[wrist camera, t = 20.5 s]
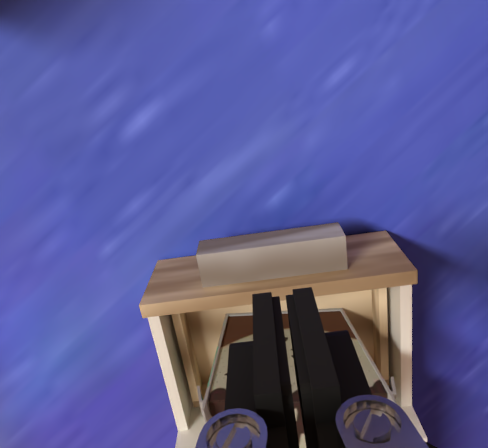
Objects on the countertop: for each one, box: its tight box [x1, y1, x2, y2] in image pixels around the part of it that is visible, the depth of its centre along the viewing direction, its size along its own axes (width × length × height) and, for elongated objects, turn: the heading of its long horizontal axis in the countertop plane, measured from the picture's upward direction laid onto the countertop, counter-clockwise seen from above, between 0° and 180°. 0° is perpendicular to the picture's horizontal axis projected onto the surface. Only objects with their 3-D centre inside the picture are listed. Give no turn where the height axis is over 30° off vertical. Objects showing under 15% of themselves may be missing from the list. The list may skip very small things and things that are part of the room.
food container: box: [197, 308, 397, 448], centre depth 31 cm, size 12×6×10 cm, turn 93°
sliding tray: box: [139, 223, 418, 407], centre depth 33 cm, size 14×18×7 cm
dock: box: [148, 285, 427, 448], centre depth 35 cm, size 22×18×10 cm
